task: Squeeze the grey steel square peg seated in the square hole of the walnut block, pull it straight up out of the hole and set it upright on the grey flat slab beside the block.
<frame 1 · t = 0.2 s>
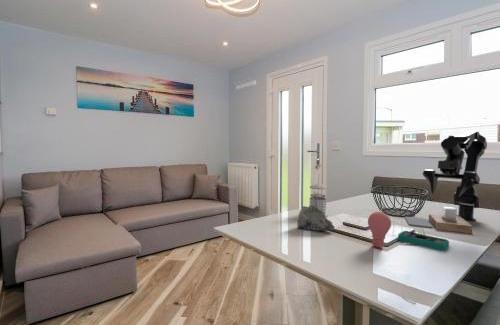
hand: (445, 194, 112), 15 cm above the table, tool tilted 30°, fingers open, 9 cm apart
light bulb: (378, 247, 93), on the table
mineral rock: (314, 230, 110), on the table
walnut socket block: (448, 226, 119), on the table
grey flat slab: (417, 222, 124), on the table
digital multimeter: (422, 244, 98), on the table
steel peg: (449, 217, 119), in the walnut socket block
french press: (316, 215, 133), on the table
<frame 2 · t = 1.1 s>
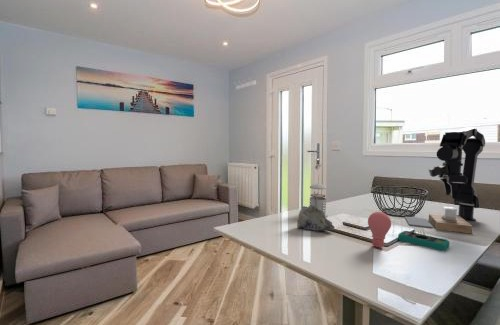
hand: (450, 196, 118), 13 cm above the table, tool pointing down, fingers open, 9 cm apart
nothing on the table moved.
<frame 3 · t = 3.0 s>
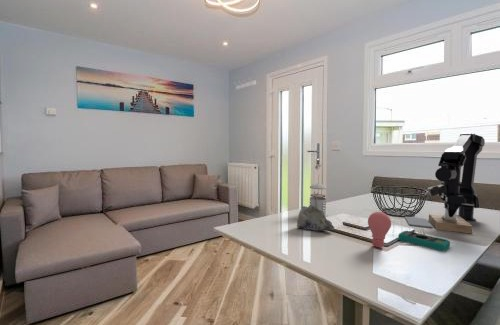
hand: (449, 215, 119), 5 cm above the table, tool pointing down, fingers closed on steel peg, 4 cm apart
steel peg: (449, 217, 119), in the walnut socket block, touching gripper
everything else where it was.
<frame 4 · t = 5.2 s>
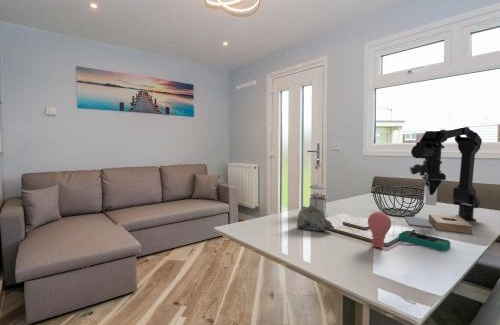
hand: (430, 194, 121), 13 cm above the table, tool pointing down, fingers closed on steel peg, 4 cm apart
steel peg: (430, 195, 121), point 13 cm above the table, touching gripper
everything else where it was.
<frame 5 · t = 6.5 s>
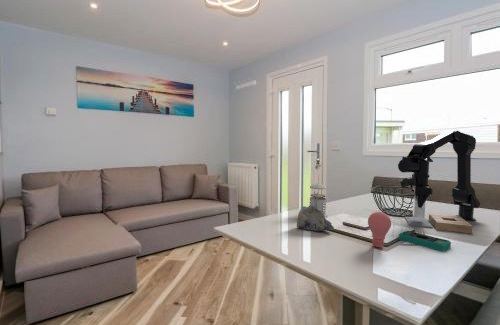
hand: (419, 206, 123), 7 cm above the table, tool pointing down, fingers closed on steel peg, 4 cm apart
steel peg: (418, 207, 123), point 7 cm above the table, touching gripper
everything else where it was.
when the fingers open (6 cm above the table, at t = 7.5 s): steel peg stays where it is, resting on grey flat slab.
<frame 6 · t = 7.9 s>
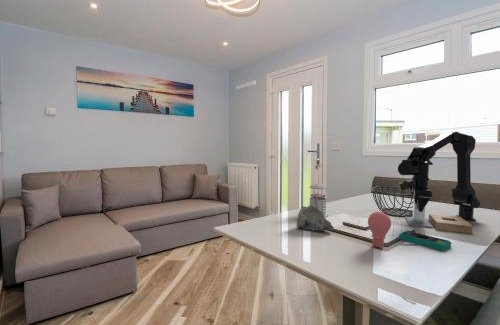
hand: (418, 209, 123), 6 cm above the table, tool pointing down, fingers open, 9 cm apart
steel peg: (418, 212, 123), on the grey flat slab, point 5 cm above the table
everything else where it was.
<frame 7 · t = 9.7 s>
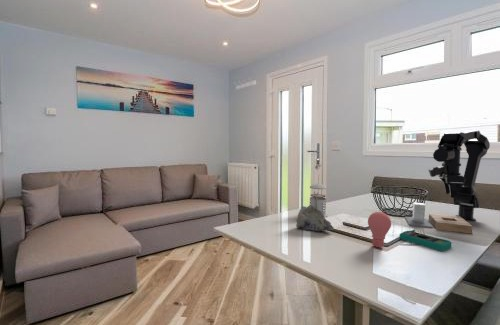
hand: (449, 195, 123), 13 cm above the table, tool pointing down, fingers open, 9 cm apart
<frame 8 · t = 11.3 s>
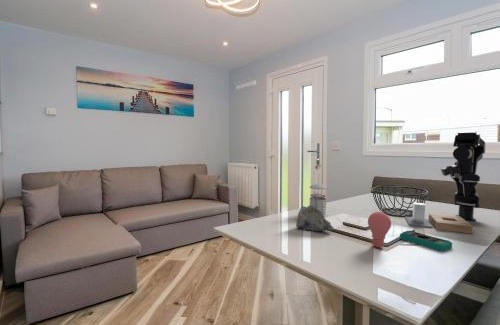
hand: (462, 195, 122), 13 cm above the table, tool pointing down, fingers open, 9 cm apart
at the end: steel peg inside the target area on the grey flat slab (0.1 cm from its centre), point 4.6 cm above the grey flat slab's base; steel peg tilted 0°; steel peg touching grey flat slab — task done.
